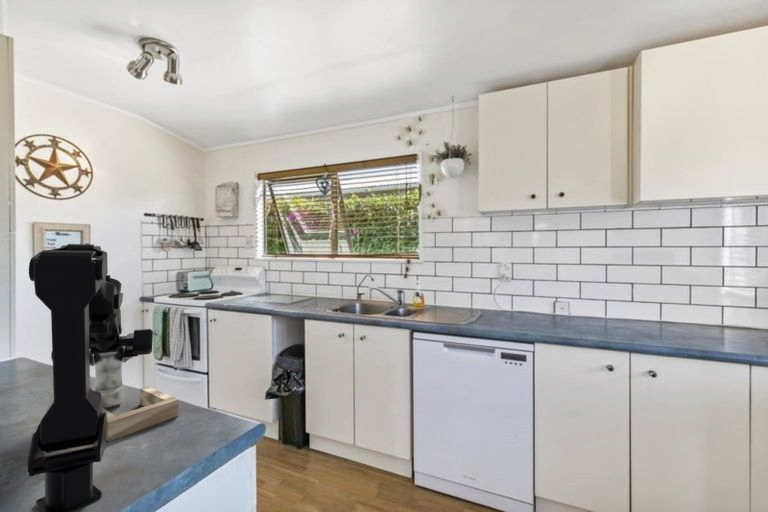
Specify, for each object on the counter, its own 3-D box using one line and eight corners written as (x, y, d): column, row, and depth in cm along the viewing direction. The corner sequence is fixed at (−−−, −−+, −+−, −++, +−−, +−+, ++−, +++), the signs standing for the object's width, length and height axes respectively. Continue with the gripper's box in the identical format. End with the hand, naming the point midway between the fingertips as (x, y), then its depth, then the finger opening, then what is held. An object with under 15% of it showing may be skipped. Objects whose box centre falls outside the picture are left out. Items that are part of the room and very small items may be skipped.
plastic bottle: (127, 399, 95) (129, 323, 94) (119, 410, 88) (121, 328, 88) (97, 402, 92) (99, 324, 92) (86, 413, 86) (88, 329, 86)
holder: (178, 415, 86) (178, 399, 86) (109, 441, 74) (109, 422, 74) (148, 401, 94) (148, 386, 93) (81, 422, 82) (81, 405, 82)
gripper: (153, 297, 91) (154, 331, 101) (55, 301, 82) (67, 338, 91) (151, 335, 84) (152, 368, 94) (44, 343, 75) (58, 379, 85)
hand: (109, 362), depth 91 cm, fingers closed on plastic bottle, 6 cm apart
